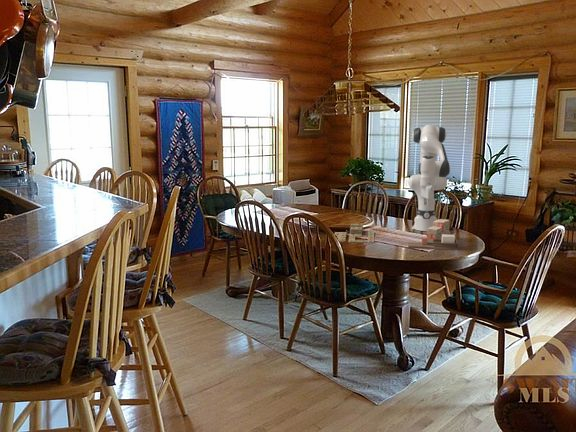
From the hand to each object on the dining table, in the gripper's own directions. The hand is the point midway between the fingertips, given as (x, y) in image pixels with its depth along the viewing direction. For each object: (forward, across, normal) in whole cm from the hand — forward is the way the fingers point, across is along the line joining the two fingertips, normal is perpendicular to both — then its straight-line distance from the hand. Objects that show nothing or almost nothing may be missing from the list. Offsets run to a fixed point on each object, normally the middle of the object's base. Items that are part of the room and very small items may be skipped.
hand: (426, 205), depth 301 cm
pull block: (+24, -1, -7) cm, 25 cm away
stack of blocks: (+25, +16, -11) cm, 31 cm away
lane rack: (+25, -1, -4) cm, 25 cm away
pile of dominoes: (+24, +26, +42) cm, 55 cm away
